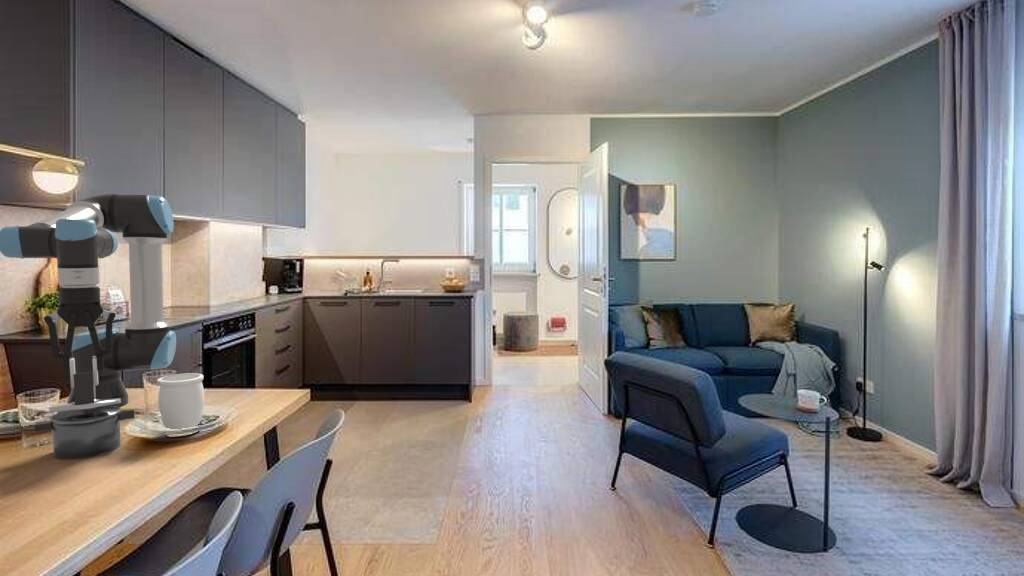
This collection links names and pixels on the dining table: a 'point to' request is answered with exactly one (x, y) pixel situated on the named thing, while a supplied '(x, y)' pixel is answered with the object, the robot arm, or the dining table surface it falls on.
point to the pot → (85, 431)
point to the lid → (84, 395)
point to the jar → (181, 400)
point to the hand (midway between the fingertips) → (84, 385)
